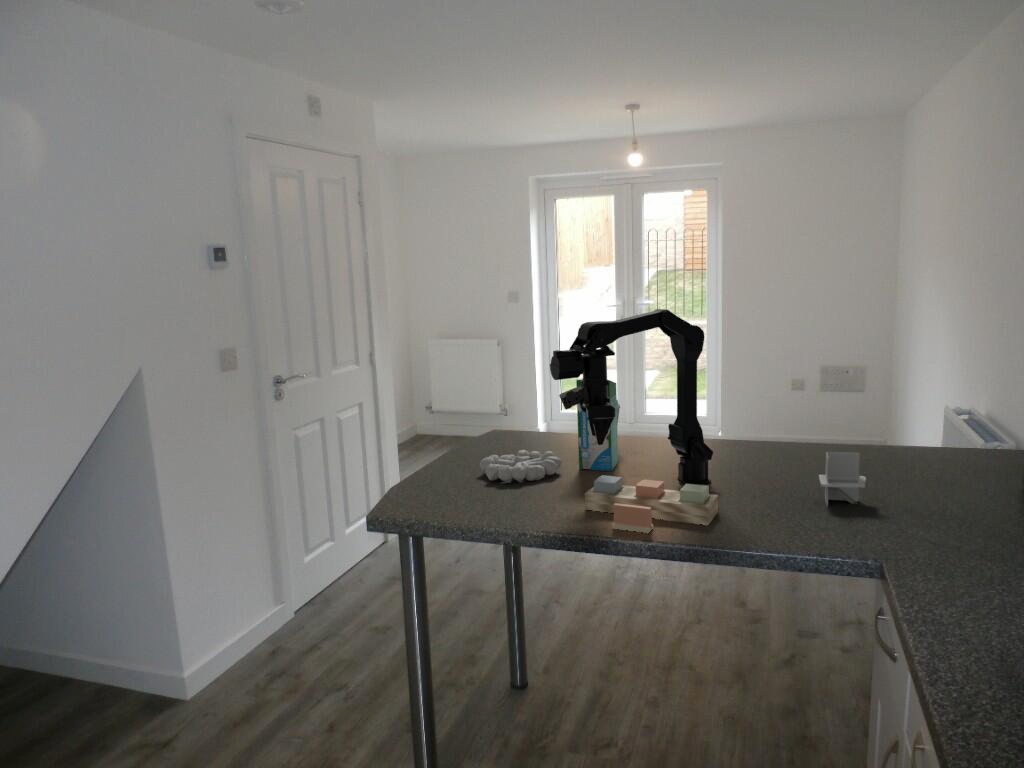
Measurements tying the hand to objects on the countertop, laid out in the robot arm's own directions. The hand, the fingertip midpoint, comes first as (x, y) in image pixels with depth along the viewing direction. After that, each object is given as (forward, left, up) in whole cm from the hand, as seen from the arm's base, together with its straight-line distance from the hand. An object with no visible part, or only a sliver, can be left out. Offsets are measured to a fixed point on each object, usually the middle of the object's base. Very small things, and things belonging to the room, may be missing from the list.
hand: (597, 440), depth 181 cm
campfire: (+14, -25, -14) cm, 32 cm away
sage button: (-15, +21, -10) cm, 28 cm away
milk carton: (-8, -25, -14) cm, 30 cm away
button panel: (-7, +15, -14) cm, 21 cm away
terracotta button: (-7, +15, -10) cm, 19 cm away
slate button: (0, +8, -10) cm, 13 cm away
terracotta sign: (0, +24, -14) cm, 27 cm away
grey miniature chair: (-49, +24, -15) cm, 57 cm away
